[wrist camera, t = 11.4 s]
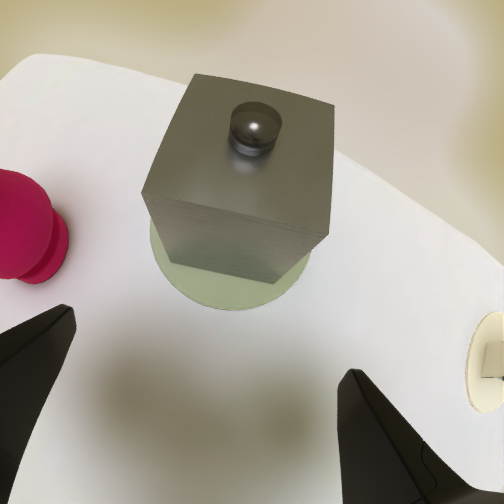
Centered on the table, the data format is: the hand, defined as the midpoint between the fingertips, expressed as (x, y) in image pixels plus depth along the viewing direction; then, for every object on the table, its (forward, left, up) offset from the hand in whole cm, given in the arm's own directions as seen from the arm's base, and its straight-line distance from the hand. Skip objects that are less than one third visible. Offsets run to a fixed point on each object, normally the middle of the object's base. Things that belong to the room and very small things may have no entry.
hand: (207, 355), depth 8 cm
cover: (+3, +8, -11) cm, 14 cm away
